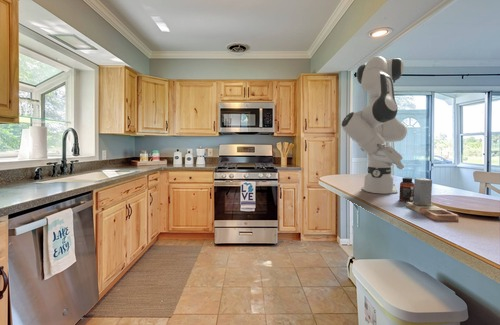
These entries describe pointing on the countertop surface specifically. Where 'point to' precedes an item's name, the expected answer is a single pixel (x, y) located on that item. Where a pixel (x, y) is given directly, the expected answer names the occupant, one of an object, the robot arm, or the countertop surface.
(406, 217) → the countertop surface
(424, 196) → the graphite peg
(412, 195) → the supplement bottle
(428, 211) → the wooden tray
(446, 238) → the countertop surface
